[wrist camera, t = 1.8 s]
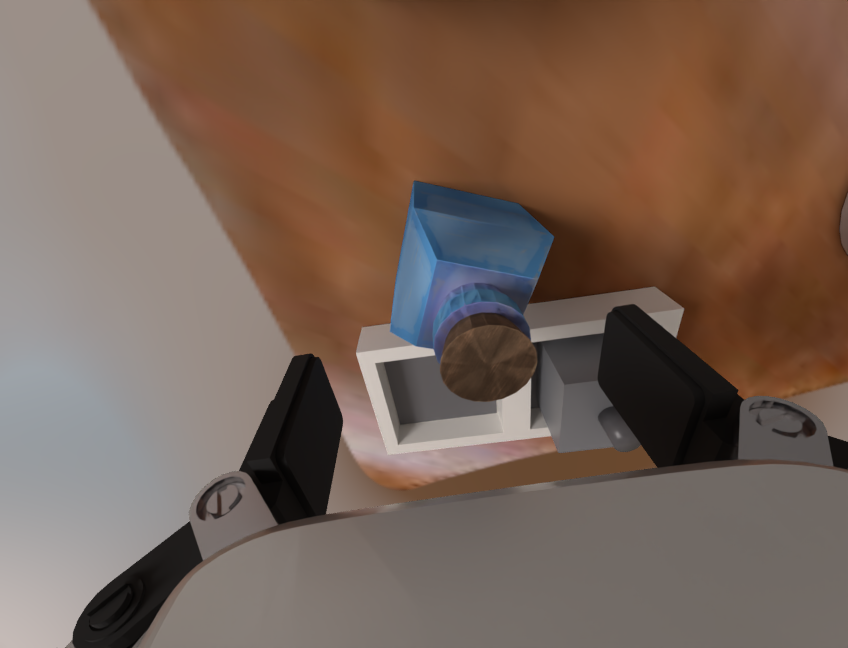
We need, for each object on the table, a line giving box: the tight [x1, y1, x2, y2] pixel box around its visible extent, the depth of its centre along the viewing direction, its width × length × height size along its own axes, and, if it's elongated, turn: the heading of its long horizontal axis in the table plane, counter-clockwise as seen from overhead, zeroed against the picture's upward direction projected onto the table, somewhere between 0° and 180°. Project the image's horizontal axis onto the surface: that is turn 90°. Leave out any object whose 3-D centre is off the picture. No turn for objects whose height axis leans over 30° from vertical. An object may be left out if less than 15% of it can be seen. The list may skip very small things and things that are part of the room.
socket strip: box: [356, 287, 684, 455], centre depth 25 cm, size 20×10×3 cm, turn 99°
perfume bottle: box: [390, 181, 554, 402], centre depth 16 cm, size 6×6×12 cm
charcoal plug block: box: [536, 333, 641, 453], centre depth 22 cm, size 6×6×7 cm
